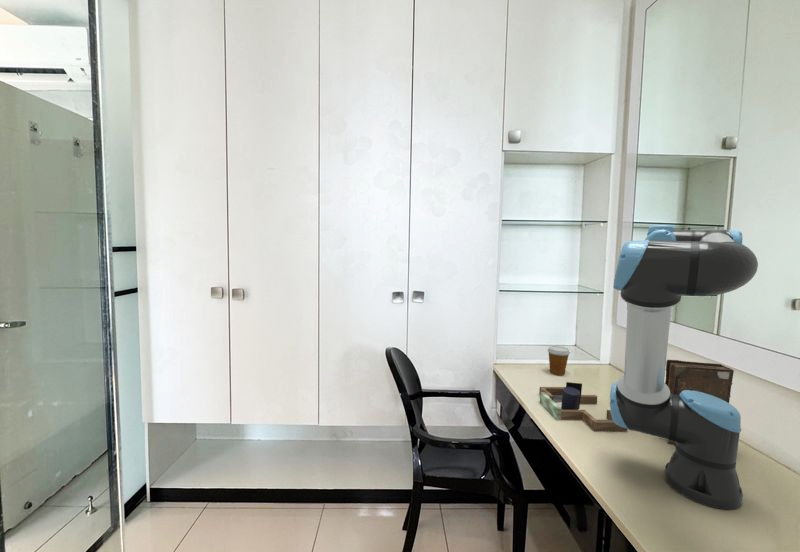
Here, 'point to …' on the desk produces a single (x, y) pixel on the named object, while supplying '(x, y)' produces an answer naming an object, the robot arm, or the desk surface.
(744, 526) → the desk surface
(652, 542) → the desk surface
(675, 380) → the book
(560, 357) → the disposable coffee cup
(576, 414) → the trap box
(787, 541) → the desk surface
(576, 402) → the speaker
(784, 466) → the desk surface
